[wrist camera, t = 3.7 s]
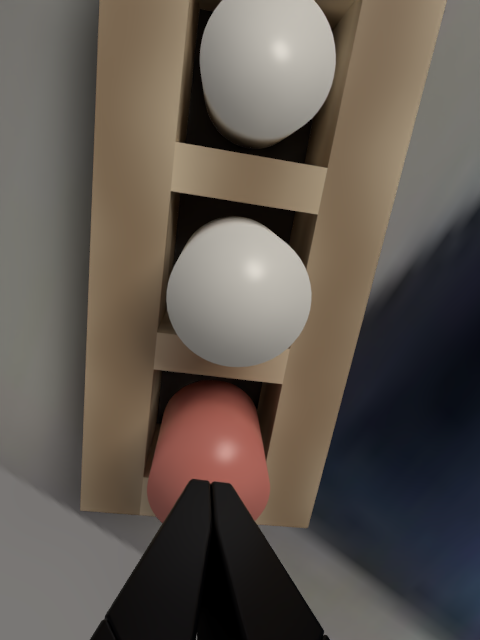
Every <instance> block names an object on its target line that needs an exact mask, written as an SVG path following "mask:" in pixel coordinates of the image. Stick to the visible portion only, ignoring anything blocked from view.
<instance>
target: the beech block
mask: <svg viewBox="0 0 480 640" xmlns="http://www.w3.org/2000/svg"><path fill="white" fill-rule="evenodd" d="M221 1H222V0H99V26H98V53H97V79H96V106H95V132H94V158H93V185H92V211H91V238H90V264H89V291H88V317H87V343H86V370H85V396H84V423H83V449H82V476H81V502H80V511H92V512H105V513H117V514H130V515H143V516H156V515H155V514H154V513H153V511H152V509H151V507H150V504H149V501H148V497H147V484H148V479H149V474H150V470H151V466H152V462H153V457H154V453H155V449H156V444H157V440H158V436H159V432H160V427H161V424H159V423H157V417H158V407H159V398H160V388H161V378H162V370H163V371H172V372H181V373H190V374H198V375H207V376H216V377H225V378H233V379H242V380H251V381H260V382H262V388H261V393H260V398H259V403H258V408H257V414H258V420H259V425H260V431H261V436H262V442H263V448H264V453H265V459H266V464H267V470H268V475H269V481H270V495H269V499H268V502H267V505H266V507H265V509H264V510H263V512H262V514H261V515H260V516H259V517H258V518H257V520H255V522H256V524H259V525H272V526H285V527H298V528H308V525H309V521H310V517H311V514H312V510H313V506H314V502H315V498H316V495H317V491H318V487H319V483H320V479H321V476H322V472H323V468H324V464H325V461H326V457H327V453H328V449H329V445H330V442H331V438H332V434H333V430H334V426H335V423H336V419H337V415H338V411H339V407H340V404H341V400H342V396H343V392H344V388H345V385H346V381H347V377H348V373H349V370H350V366H351V362H352V358H353V354H354V351H355V347H356V343H357V339H358V335H359V332H360V328H361V324H362V320H363V316H364V313H365V309H366V305H367V301H368V298H369V294H370V290H371V286H372V282H373V279H374V275H375V271H376V267H377V263H378V260H379V256H380V252H381V248H382V244H383V241H384V237H385V233H386V229H387V225H388V222H389V218H390V214H391V210H392V207H393V203H394V199H395V195H396V191H397V188H398V184H399V180H400V176H401V172H402V169H403V165H404V161H405V157H406V153H407V150H408V146H409V142H410V138H411V135H412V131H413V127H414V123H415V119H416V116H417V112H418V108H419V104H420V100H421V97H422V93H423V89H424V85H425V81H426V78H427V74H428V70H429V66H430V62H431V59H432V55H433V51H434V47H435V44H436V40H437V36H438V32H439V28H440V25H441V21H442V17H443V13H444V9H445V6H446V2H447V0H314V1H315V2H316V3H317V4H318V6H319V7H320V8H321V10H322V11H323V13H324V15H325V16H326V18H327V21H328V23H329V25H330V28H331V31H332V34H333V38H334V43H335V52H336V65H335V73H334V78H333V82H332V86H331V88H330V91H329V94H328V96H327V98H326V100H325V102H324V103H323V105H322V106H321V108H320V109H319V111H318V112H317V113H316V114H315V115H314V117H313V121H312V126H311V132H310V137H309V142H308V147H307V152H306V158H305V163H304V164H301V163H295V162H289V161H284V160H278V159H272V158H266V157H260V156H255V155H249V154H243V153H237V152H232V151H226V150H220V149H214V148H208V147H203V146H197V145H191V144H186V137H187V127H188V118H189V108H190V98H191V89H192V79H193V69H194V60H195V50H196V41H197V31H198V21H199V12H200V9H202V10H207V11H212V12H214V10H215V9H216V7H217V6H218V5H219V4H220V2H221ZM181 193H186V194H193V195H199V196H205V197H211V198H218V199H224V200H230V201H236V202H243V203H249V204H255V205H261V206H268V207H274V208H280V209H286V210H293V211H295V215H294V220H293V226H292V231H291V236H290V241H289V246H290V247H291V248H292V249H293V250H294V251H295V253H296V254H297V255H298V256H299V258H300V259H301V261H302V263H303V264H304V266H305V268H306V271H307V273H308V276H309V280H310V285H311V307H310V312H309V316H308V319H307V322H306V324H305V326H304V328H303V330H302V332H301V333H300V335H299V336H298V338H297V339H296V340H295V341H294V343H293V344H292V345H291V346H290V347H289V348H288V349H286V350H285V351H284V352H282V353H281V354H280V355H278V356H276V357H275V358H273V359H271V360H269V361H266V362H264V363H261V364H258V365H254V366H248V367H228V366H222V365H218V364H215V363H212V362H209V361H207V360H205V359H203V358H201V357H200V356H198V355H196V354H195V353H194V352H192V351H191V350H190V349H189V348H188V347H187V346H186V345H185V344H184V343H183V342H182V341H181V339H180V338H179V337H178V335H177V334H176V332H175V330H174V328H173V326H172V324H171V321H170V319H169V314H168V310H167V302H166V297H167V287H168V281H169V278H170V275H171V272H172V270H173V262H174V253H175V243H176V233H177V224H178V214H179V205H180V195H181Z"/></svg>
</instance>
